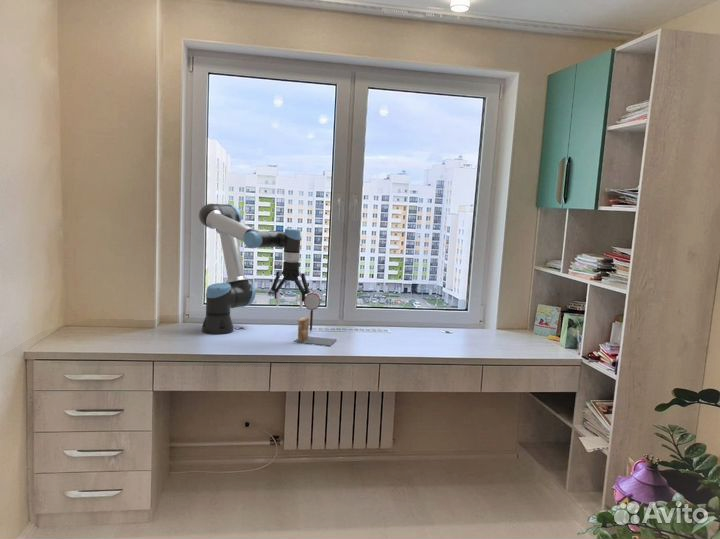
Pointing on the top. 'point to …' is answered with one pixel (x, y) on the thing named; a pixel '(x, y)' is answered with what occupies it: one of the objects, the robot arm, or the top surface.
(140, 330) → the top surface
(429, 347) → the top surface
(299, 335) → the wooden block
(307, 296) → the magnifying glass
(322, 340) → the mat
